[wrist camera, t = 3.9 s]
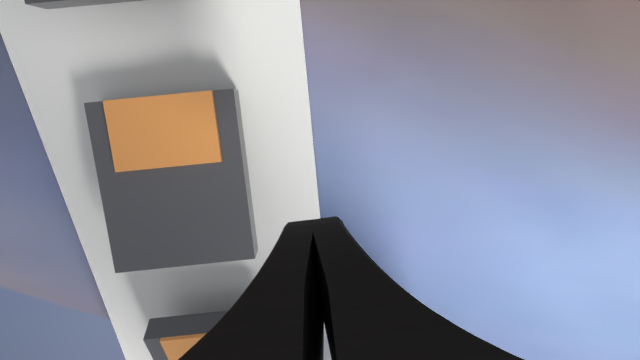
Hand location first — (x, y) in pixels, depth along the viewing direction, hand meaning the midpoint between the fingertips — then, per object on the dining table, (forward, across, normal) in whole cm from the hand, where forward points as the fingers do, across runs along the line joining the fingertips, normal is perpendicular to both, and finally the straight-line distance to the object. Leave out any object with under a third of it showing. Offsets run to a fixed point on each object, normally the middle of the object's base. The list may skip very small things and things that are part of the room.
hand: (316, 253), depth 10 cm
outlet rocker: (+5, +5, 0) cm, 7 cm away
